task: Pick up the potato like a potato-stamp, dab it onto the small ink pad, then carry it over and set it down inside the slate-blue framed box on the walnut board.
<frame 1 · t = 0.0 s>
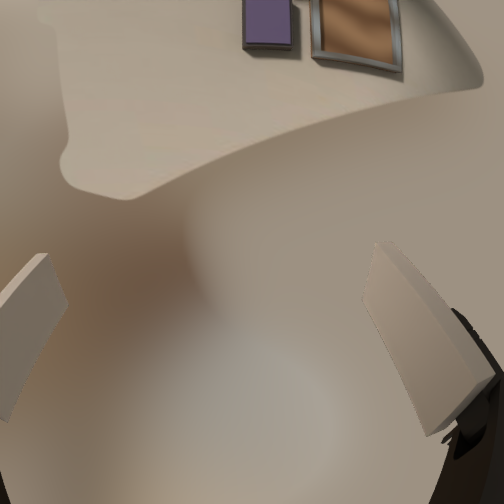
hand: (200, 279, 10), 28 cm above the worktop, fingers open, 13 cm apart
print board: (353, 10, 24), on the worktop
ink pad: (266, 23, 26), on the worktop
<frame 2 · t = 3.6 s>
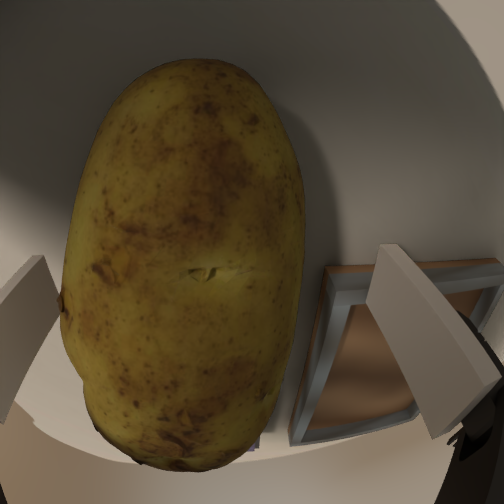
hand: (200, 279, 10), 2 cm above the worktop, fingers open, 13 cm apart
print board: (386, 366, 17), on the worktop
potato: (203, 240, 11), on the worktop
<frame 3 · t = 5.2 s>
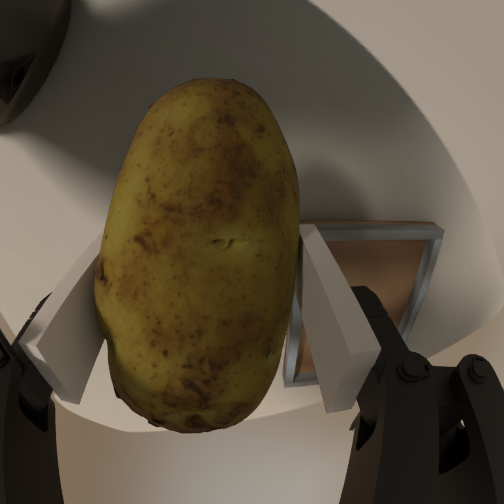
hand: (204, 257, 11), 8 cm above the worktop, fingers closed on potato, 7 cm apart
print board: (354, 310, 24), on the worktop
potato: (212, 229, 13), point 6 cm above the worktop, touching gripper
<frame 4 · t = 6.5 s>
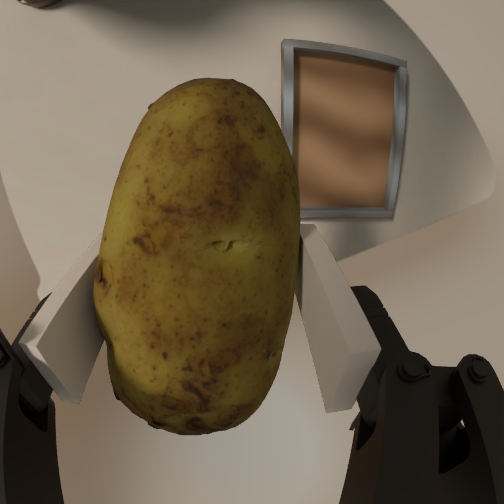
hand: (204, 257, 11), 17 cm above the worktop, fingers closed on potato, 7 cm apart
print board: (342, 131, 25), on the worktop
potato: (212, 230, 13), point 15 cm above the worktop, touching gripper
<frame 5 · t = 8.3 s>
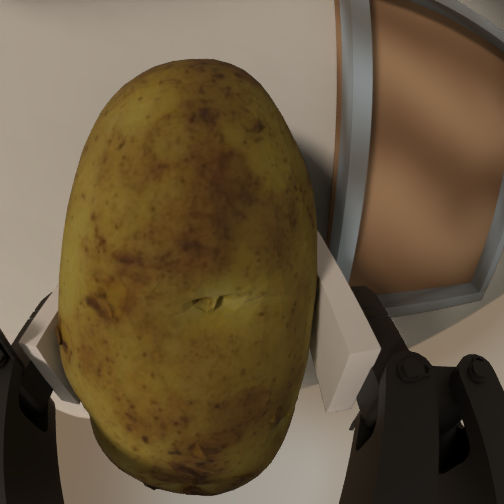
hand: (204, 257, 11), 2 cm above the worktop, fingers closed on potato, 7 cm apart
print board: (442, 157, 11), on the worktop
potato: (208, 253, 11), point 2 cm above the worktop, touching gripper, ink pad
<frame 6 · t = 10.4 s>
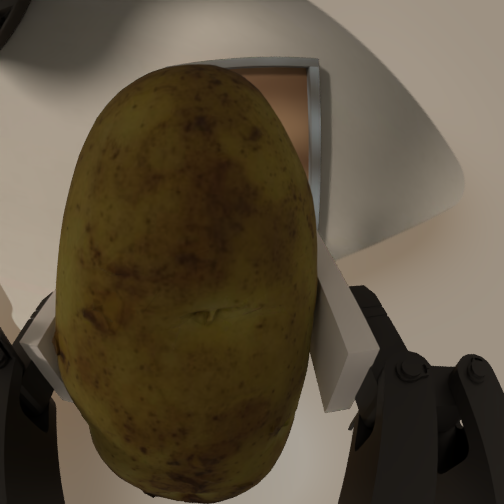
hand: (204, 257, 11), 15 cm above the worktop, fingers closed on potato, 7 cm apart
print board: (247, 154, 24), on the worktop
potato: (207, 260, 11), point 16 cm above the worktop, touching gripper
when the fingers open (3 cm above the worktop, at t = 12.4 s): potato drops 3 cm, resting on print board.
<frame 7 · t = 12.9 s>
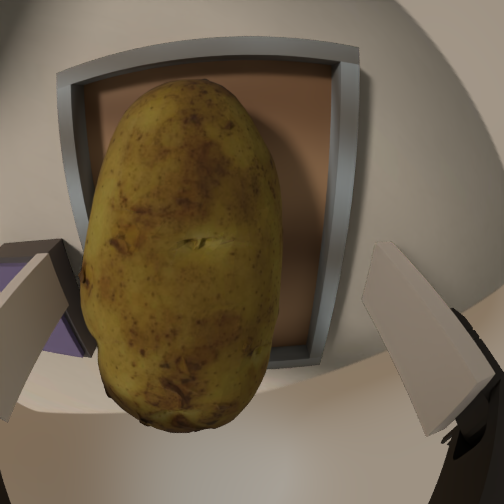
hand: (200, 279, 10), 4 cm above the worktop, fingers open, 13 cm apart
print board: (209, 230, 14), on the worktop
potato: (201, 230, 13), resting on print board
ink pad: (49, 292, 15), on the worktop
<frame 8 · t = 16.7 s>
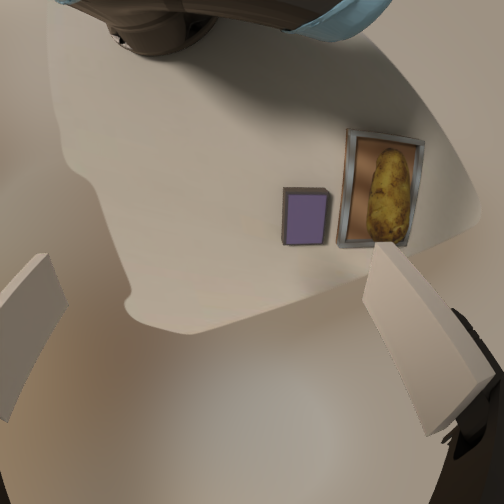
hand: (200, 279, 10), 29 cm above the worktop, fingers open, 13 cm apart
print board: (379, 190, 38), on the worktop
potato: (378, 189, 38), resting on print board
ink pad: (302, 213, 40), on the worktop
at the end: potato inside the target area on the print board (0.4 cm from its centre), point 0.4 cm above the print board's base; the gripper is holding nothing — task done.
